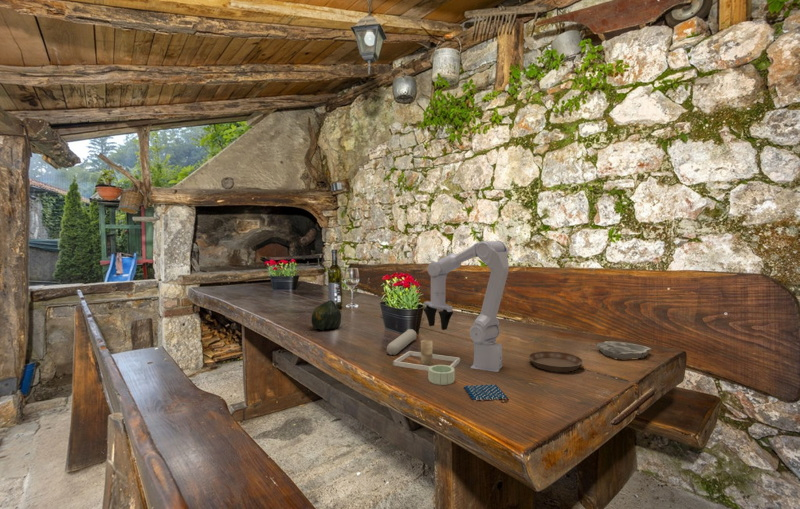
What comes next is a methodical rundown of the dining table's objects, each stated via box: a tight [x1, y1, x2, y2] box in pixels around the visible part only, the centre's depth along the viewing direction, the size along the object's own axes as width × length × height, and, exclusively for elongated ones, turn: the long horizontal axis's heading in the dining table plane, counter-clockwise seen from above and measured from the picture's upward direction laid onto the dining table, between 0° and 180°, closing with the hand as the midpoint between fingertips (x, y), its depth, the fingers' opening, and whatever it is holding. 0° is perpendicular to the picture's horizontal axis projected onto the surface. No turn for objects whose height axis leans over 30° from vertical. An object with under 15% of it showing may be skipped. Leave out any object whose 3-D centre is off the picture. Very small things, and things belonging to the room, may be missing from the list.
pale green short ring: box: [427, 364, 456, 386], centre depth 121 cm, size 8×8×4 cm
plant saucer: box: [528, 350, 584, 373], centre depth 137 cm, size 18×18×3 cm
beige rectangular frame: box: [392, 350, 461, 372], centre depth 137 cm, size 20×14×2 cm
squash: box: [311, 300, 342, 331], centre depth 193 cm, size 14×15×15 cm
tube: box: [386, 328, 417, 356], centre depth 160 cm, size 5×5×25 cm
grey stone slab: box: [595, 340, 652, 360], centre depth 151 cm, size 20×17×3 cm
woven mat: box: [463, 383, 510, 404], centre depth 110 cm, size 10×11×2 cm
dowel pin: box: [420, 339, 434, 366], centre depth 137 cm, size 4×4×8 cm
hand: (437, 327), depth 150 cm, fingers open, 7 cm apart
